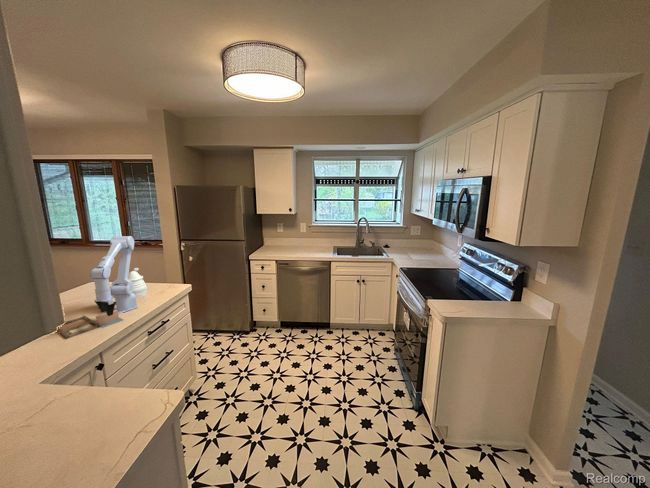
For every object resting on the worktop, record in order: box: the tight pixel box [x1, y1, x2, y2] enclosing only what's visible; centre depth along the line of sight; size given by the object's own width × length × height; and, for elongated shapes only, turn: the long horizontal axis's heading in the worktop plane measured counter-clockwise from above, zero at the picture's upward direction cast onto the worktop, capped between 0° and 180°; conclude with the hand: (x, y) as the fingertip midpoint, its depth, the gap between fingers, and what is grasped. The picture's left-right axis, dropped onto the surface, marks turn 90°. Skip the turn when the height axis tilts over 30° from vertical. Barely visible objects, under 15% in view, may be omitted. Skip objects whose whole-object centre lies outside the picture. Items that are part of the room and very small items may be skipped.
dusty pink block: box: [95, 310, 120, 325], centre depth 143 cm, size 9×2×4 cm, turn 150°
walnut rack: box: [56, 315, 101, 340], centre depth 136 cm, size 13×19×2 cm
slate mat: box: [93, 317, 124, 329], centre depth 143 cm, size 10×12×1 cm
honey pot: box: [124, 267, 148, 299], centre depth 177 cm, size 13×13×18 cm
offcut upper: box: [68, 323, 94, 335], centre depth 133 cm, size 8×4×1 cm, turn 155°
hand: (107, 313), depth 142 cm, fingers open, 7 cm apart
